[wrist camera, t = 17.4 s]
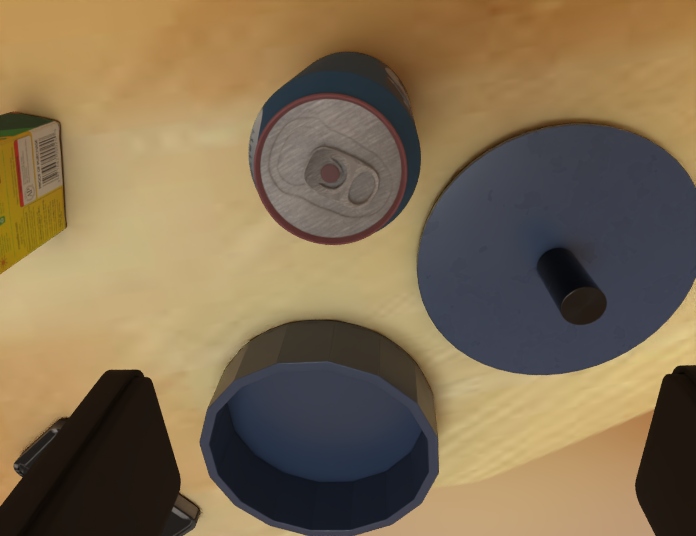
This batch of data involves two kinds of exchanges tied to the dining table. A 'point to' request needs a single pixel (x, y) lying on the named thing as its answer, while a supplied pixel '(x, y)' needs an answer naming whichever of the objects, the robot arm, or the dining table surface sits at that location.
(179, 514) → the phone
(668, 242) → the lid
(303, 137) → the soda can
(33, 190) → the crayon box
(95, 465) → the robot arm
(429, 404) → the pot
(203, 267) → the dining table surface
